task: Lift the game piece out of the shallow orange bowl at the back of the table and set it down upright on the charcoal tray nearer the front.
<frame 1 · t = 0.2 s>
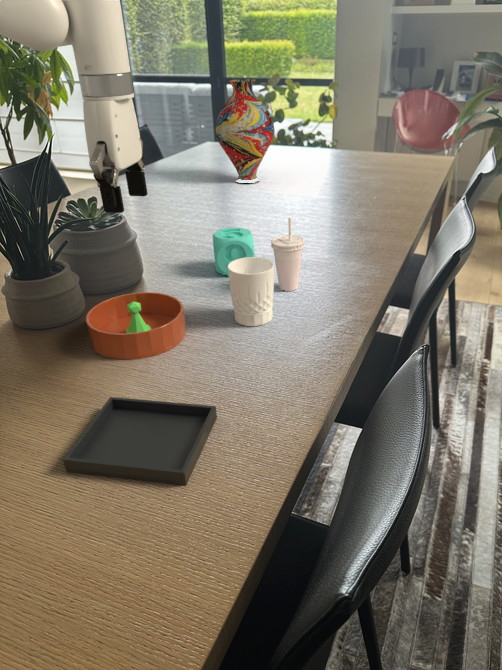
hand: (127, 203, 91), 20 cm above the table, tool pointing down, fingers open, 9 cm apart
decorative dice: (235, 270, 118), on the table
game piece: (139, 334, 94), resting on shallow orange bowl
smoothie: (288, 288, 110), on the table
tray: (146, 443, 70), on the table
vase: (247, 181, 184), on the table
white cup: (253, 319, 99), on the table
shallow orange bowl: (139, 335, 94), on the table
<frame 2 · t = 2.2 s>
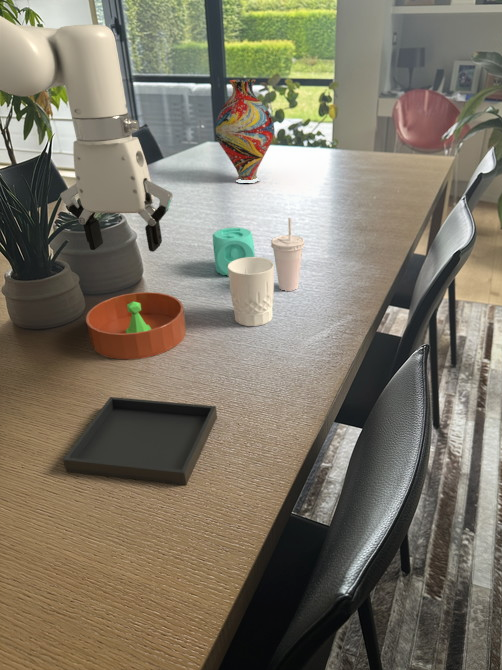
hand: (125, 247, 86), 15 cm above the table, tool pointing down, fingers open, 9 cm apart
nothing on the table moved.
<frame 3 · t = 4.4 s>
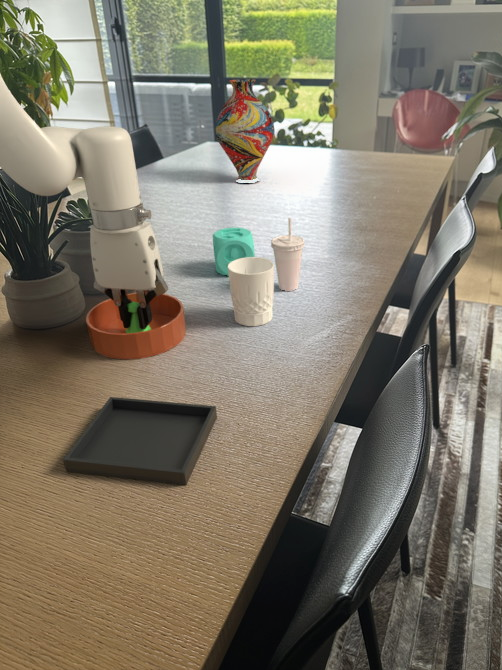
hand: (137, 324, 93), 2 cm above the table, tool pointing down, fingers closed on game piece, 2 cm apart
game piece: (139, 334, 94), resting on shallow orange bowl, touching gripper
everything else where it was.
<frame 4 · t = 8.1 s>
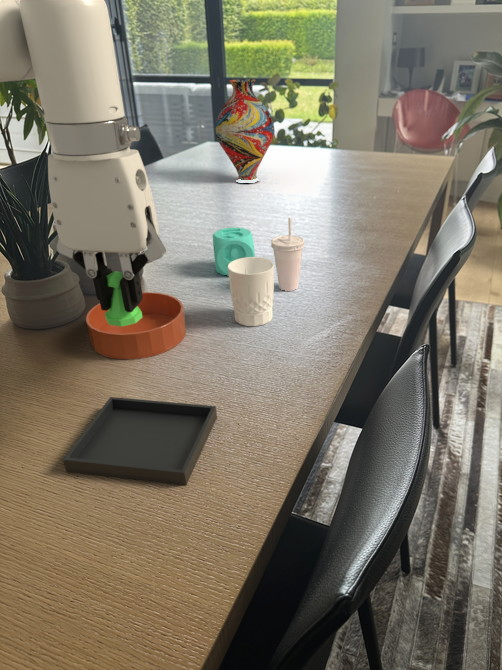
hand: (121, 305, 65), 17 cm above the table, tool pointing down, fingers closed on game piece
game piece: (124, 319, 66), point 15 cm above the table, touching gripper
everything else where it was.
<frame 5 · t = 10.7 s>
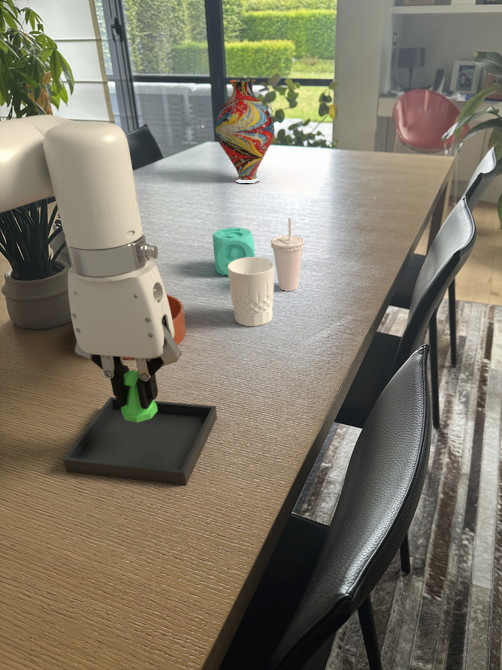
hand: (137, 400, 66), 7 cm above the table, tool pointing down, fingers closed on game piece
game piece: (140, 413, 67), point 5 cm above the table, touching gripper
everything else where it was.
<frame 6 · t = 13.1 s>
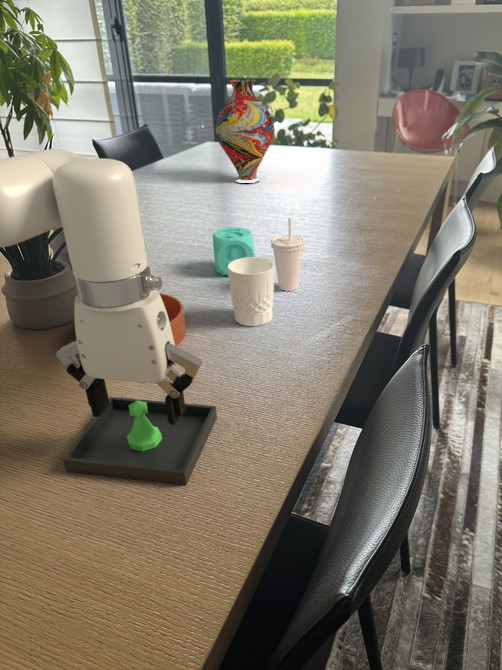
hand: (138, 414, 67), 4 cm above the table, tool pointing down, fingers open, 9 cm apart
game piece: (145, 441, 70), resting on tray
everything else where it was.
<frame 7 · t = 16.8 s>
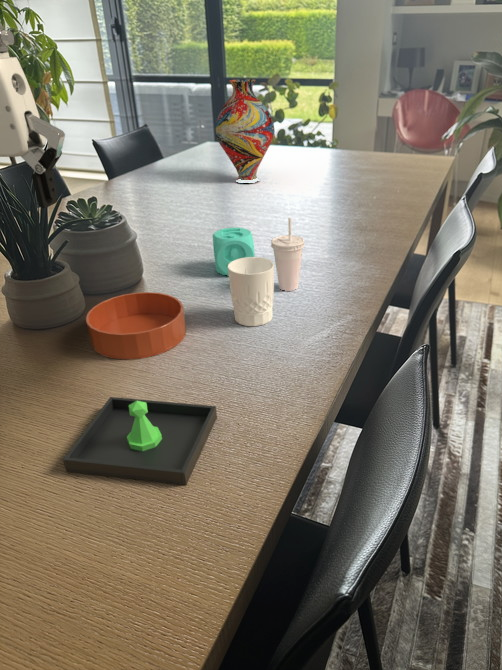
hand: (13, 204, 68), 26 cm above the table, tool pointing down, fingers open, 9 cm apart
nothing on the table moved.
at the end: game piece inside the target area in the tray (0.1 cm from its centre), point 0.2 cm above the tray's base; game piece tilted 0°; the gripper is holding nothing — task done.
